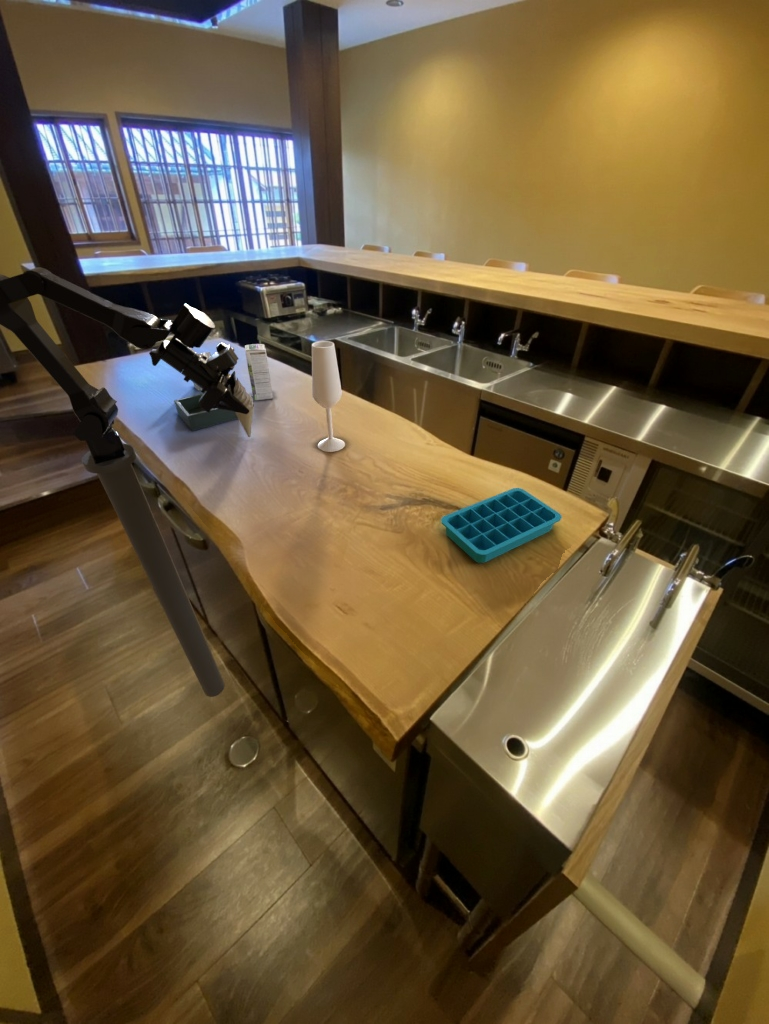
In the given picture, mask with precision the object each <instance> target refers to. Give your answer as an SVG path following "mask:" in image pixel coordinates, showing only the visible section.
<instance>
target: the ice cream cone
mask: <svg viewBox="0 0 769 1024" xmlns="http://www.w3.org/2000/svg"><path fill="white" fill-rule="evenodd" d="M234 396H235V397H236V398H237V399H238V400H239V401H240V402H241V403H242V404H244V405H245V406H246V407H247V408H248V409H249V413H248V414H243V413H238V412H235V413H236V415H237V417H238V420H239V423H240V424H241V426H242V428H243V429H244V431H245V434H246V435H247V437H248V438H251V437H252V426H253V416H254V407H255V404H254V403H253V401H254V399H253V396H251V394H250V393H248V392H247V391H246V387H245V386H243V384H242V382H241V381H240V380H239V378H238V377H236V385H235V388H234Z"/></svg>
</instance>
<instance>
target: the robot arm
mask: <svg viewBox="0 0 769 1024" xmlns="http://www.w3.org/2000/svg"><path fill="white" fill-rule="evenodd" d="M36 295H39V296H42V297H44V298H46V299H49V300H51V301H53V302H55V303H57V304H59V305H62V306H63V307H66V308H68V309H70V310H73V311H74V312H77V313H78V314H80V315H83V316H85V317H88V318H90V319H92V320H94V321H96V322H98V323H100V324H102V325H104V326H107V328H110V329H111V330H112V331H114V333H116V334H117V335H118V336H119V337H120V338H121V339H123V340H124V341H126V342H127V343H129V344H131V345H132V346H134V347H135V348H138V349H140V350H148V349H151V348H152V349H151V350H150V351H149V352H148V354H149V356H150V359H151V364H152V366H154V367H156V366H157V365H158V364H159V363H160V361H161V360H162V361H163V362H164V363H166V364H167V365H168V366H170V367H171V368H172V369H174V370H175V371H177V372H178V373H179V374H181V375H182V376H184V378H183V381H185V382H187V383H188V382H190V381H191V382H192V383H193V382H194V383H195V384H196V385H198V386H199V387H201V388H202V390H200V392H201V394H203V395H202V396H201V398H200V400H199V406H200V408H201V409H202V410H204V411H205V412H207V413H209V412H210V410H211V409H212V408H213V409H215V408H217V409H224V410H229V411H234V412H238V413H243V414H248V413H249V409H248V408H247V407H246V406H245V405H244V404H242V403H241V402H240V401H239V400H238V399H237V398H236V397H235V396H234V388H235V385H236V380H237V376H236V371H235V370H234V368H235V366H236V365H237V363H238V360H239V357H238V355H237V354H236V352H235V348H234V347H232V346H231V345H230V344H227V343H224V342H223V341H222V342H220V343H218V344H217V345H216V347H215V349H216V351H215V352H214V353H213V354H211V356H210V357H209V356H207V355H206V354H203V353H204V352H201V353H202V354H201V355H199V354H200V353H198V352H197V351H196V350H193V349H194V348H199V349H200V348H201V347H202V346H203V344H204V343H205V342H206V340H207V339H208V337H209V336H210V335H211V334H212V333H213V331H214V330H215V328H216V325H215V323H214V321H213V320H212V319H211V318H210V317H209V316H208V315H207V314H206V313H205V312H203V311H200V310H198V309H197V308H195V307H192V306H190V305H189V304H187V303H184V304H183V305H182V306H181V308H180V309H179V313H178V314H177V315H176V317H175V318H174V320H173V319H166V318H158V317H157V316H156V315H155V314H152V313H150V312H146V311H143V310H141V309H137V308H133V307H127V306H123V305H119V304H116V303H114V302H112V301H110V300H107V299H106V298H104V297H101V296H99V295H97V294H95V293H93V292H91V291H89V290H87V289H85V288H83V287H81V286H79V285H77V284H74V283H72V282H70V281H68V280H66V279H64V278H62V277H61V276H58V275H56V274H54V273H52V272H51V271H50V270H49V269H47V268H44V267H34V268H31V269H28V270H25V271H24V272H23V273H19V274H17V275H13V276H11V277H10V276H7V275H5V274H0V326H2V327H3V328H5V329H7V330H9V331H10V332H11V333H13V334H14V336H15V337H16V338H17V339H18V340H19V341H20V342H21V343H22V345H23V346H24V347H25V348H26V350H28V351H29V353H30V354H31V355H32V356H33V357H34V358H35V360H36V361H37V362H38V363H39V364H40V365H41V366H42V368H44V370H45V371H46V372H47V373H48V374H49V376H50V377H51V378H52V379H53V380H54V381H55V382H56V384H57V385H58V386H59V387H60V388H61V389H62V391H63V392H64V393H65V394H66V395H67V396H68V398H69V402H70V405H71V408H72V411H73V413H74V414H75V416H76V418H77V419H78V420H79V424H78V425H77V427H76V428H75V430H74V431H73V435H74V436H75V437H76V438H77V440H79V441H80V442H85V444H86V447H87V449H88V451H90V452H91V455H92V458H93V460H94V462H95V464H97V463H101V462H105V461H108V460H112V459H116V458H119V457H123V456H125V454H124V452H123V451H124V450H125V449H124V446H123V444H122V443H123V442H122V439H121V437H120V435H119V432H118V431H115V430H114V428H113V425H114V424H115V419H116V418H117V416H118V414H119V407H118V406H117V402H118V401H117V400H116V399H114V398H113V396H111V395H110V393H109V392H108V390H107V388H106V387H104V386H102V387H101V388H99V389H98V388H97V387H95V386H93V385H91V384H90V383H89V382H88V380H86V379H85V377H84V376H83V375H82V374H81V373H80V371H79V370H78V369H77V368H76V366H75V365H74V364H73V363H72V361H71V360H70V359H69V358H68V357H67V355H66V354H65V352H63V350H62V349H61V348H60V347H59V346H58V345H57V343H56V342H55V341H54V339H53V338H52V337H51V336H50V335H49V333H48V332H47V331H46V330H45V329H44V328H43V326H42V325H41V324H40V323H39V321H38V319H37V317H36V314H35V311H34V308H33V305H32V301H30V299H29V297H33V296H36ZM171 334H173V336H172V337H171V339H170V340H167V338H169V336H170V335H171ZM159 342H161V343H160V344H159V346H157V348H156V349H153V347H154V346H156V344H157V343H159ZM233 370H234V371H233ZM231 371H232V373H231V374H230V372H231ZM194 383H193V384H194Z"/></svg>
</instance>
